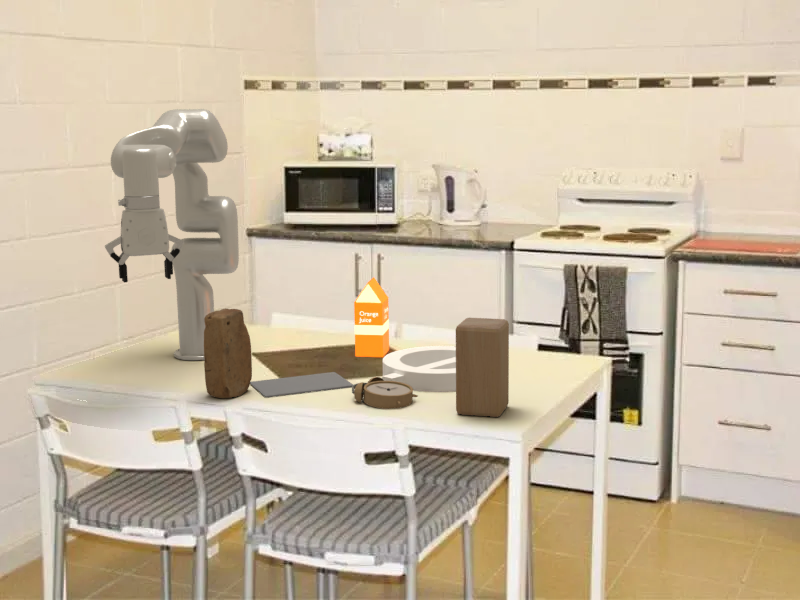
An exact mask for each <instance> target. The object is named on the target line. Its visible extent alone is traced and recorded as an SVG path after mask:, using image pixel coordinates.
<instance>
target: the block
mask: <svg viewBox="0 0 800 600" xmlns="http://www.w3.org/2000/svg"><path fill="white" fill-rule="evenodd" d="M244 319H245V318H244V313H243V310H241V309H238V308H226V307H225V308H221V309H220V310H219V309H218V310H214V312H211V313H209V314H207V315H206V316H205V318H204V322H205V330H204V358H205V360H204V362H203V365H204V366H203V367H204V380H205V388H206V393H207V394H208V395H209V396H212V397H214V398H218V399H231V398H232V397H234V398H237V396H238V397H240V396H242V395H243V394H245V393H246V392H247V391H248V390H249V388H250V386H251V385H250V382H252V379H253V378H252V377H253V365H252V364H253V360H252V343H251V338H250V334H249V331H248V328H247V325H246V324H245V321H244Z"/></svg>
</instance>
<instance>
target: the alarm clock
mask: <svg viewBox="0 0 800 600" xmlns="http://www.w3.org/2000/svg"><path fill="white" fill-rule="evenodd" d="M351 394H353V397H354V399H355V400H356V402H358V403H359V402H360V404H362V401H361V400H363V403H364V404H366V405H368V406H369V407H373V408H377V409H383V410H384V409H385V410H389V409H391V410H392V409H400V407H401V408H404V407H407V406H410V405H411V404H413V398H418V397H419V395H418V394H414V390H413V388H412V387H411V386H409V385H408V384H405V383H401V382H396V381H384V380H383V379H382V377H380V376H373V377H371V378H370V379H369V380H368V381H367V382H363V381H362V382H361V381H360V382H356V383H355V384H353V386H352V387H351Z"/></svg>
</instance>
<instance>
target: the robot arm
mask: <svg viewBox="0 0 800 600" xmlns="http://www.w3.org/2000/svg"><path fill="white" fill-rule="evenodd" d="M228 147H229V146H228V140H227V136H226V134H225V132H224V129H223V128H222V126H221V124H220V122H219V120H218V119H217V117H216V115H215V114H214V113H213V112H212V111H210V110H208V109H204V108H197V109H196V108H194V109H193V108H192V109H191V108H189V109H187V108H185V109H184V108H183V109H182V108H181V109H178V108H177V109H169V110H167V111H164V113H163V114H161V115H160V116H159V118H158V119H157V120H156V122H154V124H153V125H152V126H151V127H147V128H144V129H142V130H139V131H136V132H132V133H130V134H127V135H125V136H122V138H121V139H119V141H118V142H117V143H116V144H115V145H114V148H113V149H112V152H111V155H110V166H111V170H112V172H113V173H114V175H115V176H117V177H118V178H121V179H123V192H124V195H123V198H121V199H118V200H117V203H118V207H119V206H122V207H124V208H125V209H123V210H122V211H121V212H122V213H121V219H120V236H119V237H117V238H115V239H113V240H112V241H110V242H108V243H107V244H105V245H104V249H105V250H106V252H107V253H108V255H109V256H110V258H111V259H112V260H114V261H115V262H116V263H117V264H118V274H119V275H118V277H119V279H121V280H122V282H123V283H128V281H129V278H128V266H127V264H126V261H127V260H128V259H129V258H130V257H140V256H141V257H142V256H155V255H163V257H164V258H165V259H164V261H163V265H164V277H165V278H166V279H167V280H171V278H172V276H173V275H174V277H175V279H174V280H175V284H176V285H175V287H176V302H177V303H176V304H177V320H178V321H177V323H178V325H177V326H178V342H179V343H178V344H179V348H178V349H176V350H175V351H174V352H173V356H174V358H175V359H178V360H183V361H203V360H205V358H204V330H205V322H204V318H205V316H206V315H207V314H209V313H211V312H214V311H215V304H214V303H215V302H214V301H215V300H214V299H215V298H214V290H213V287H212V285H211V283H210V281H208V279H207V278H206V277H205V275H226V274H228V275H229V274H232V273H235V271H236V270H237V269H238V267H239V266H238V265H239V259H240V257H239V256H240V255H239V254H240V253H239V252H240V251H239V248H240V247H239V221H238V218H239V217H238V209H237V205H236V203H235V201H234V199H232V197H229V196H225V195H218V196H217V195H213V196H212V195H209V184H208V182H209V181H208V175H207V174H206V172H205V170H204V169H203V167H202V166H201V165H200V164H204V163H205V164H207V163H212V164H215V163H220V162H222V161H223V160H224V159H225V158H226V157H227V155H228ZM171 175H172V176H173V180H174V181H173V182H174V198H175V201H174V202H175V204H174V205H175V220H176V226H177V228H178V229H179V230H180V231H182V232H185V233H193V234H194V233H199V234H200V233H202V234H203V233H217V234H218V235H219V237H185V238H178V237H176V236H174V235H171V234H169V231H168V229H169V228H168V223H167V218H166V212H165V210H164V209H163V208H161V204H160V202H161V201H160V186H159V179H163V178H164V179H165V178H168V177H169V176H171ZM170 242H172V243H173V245H172V246H171V250H170ZM118 245H120V249H121V253H120V255H118V254H117V253H116V252H115V250H114V248H115V247H116V248H117V246H118ZM169 250H170V252H169Z"/></svg>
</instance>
